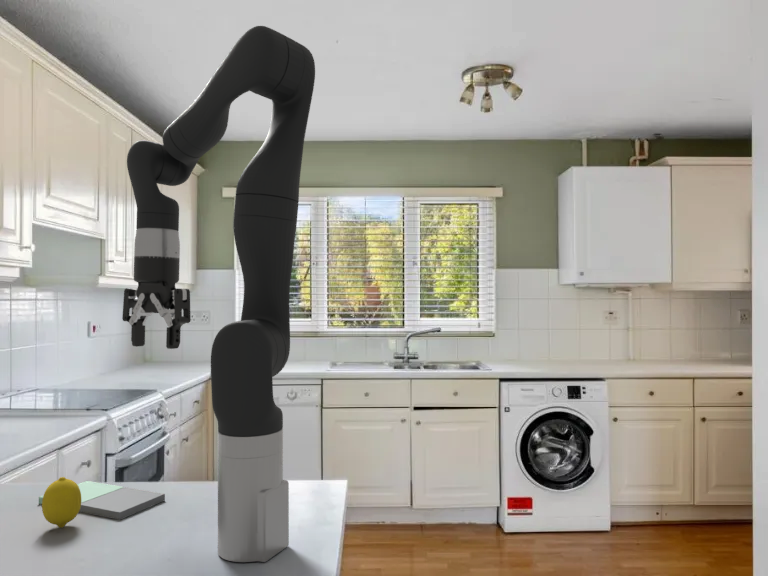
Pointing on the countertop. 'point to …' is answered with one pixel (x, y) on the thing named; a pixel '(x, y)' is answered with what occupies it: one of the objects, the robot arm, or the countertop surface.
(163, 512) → the countertop surface
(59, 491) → the lemon
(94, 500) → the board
